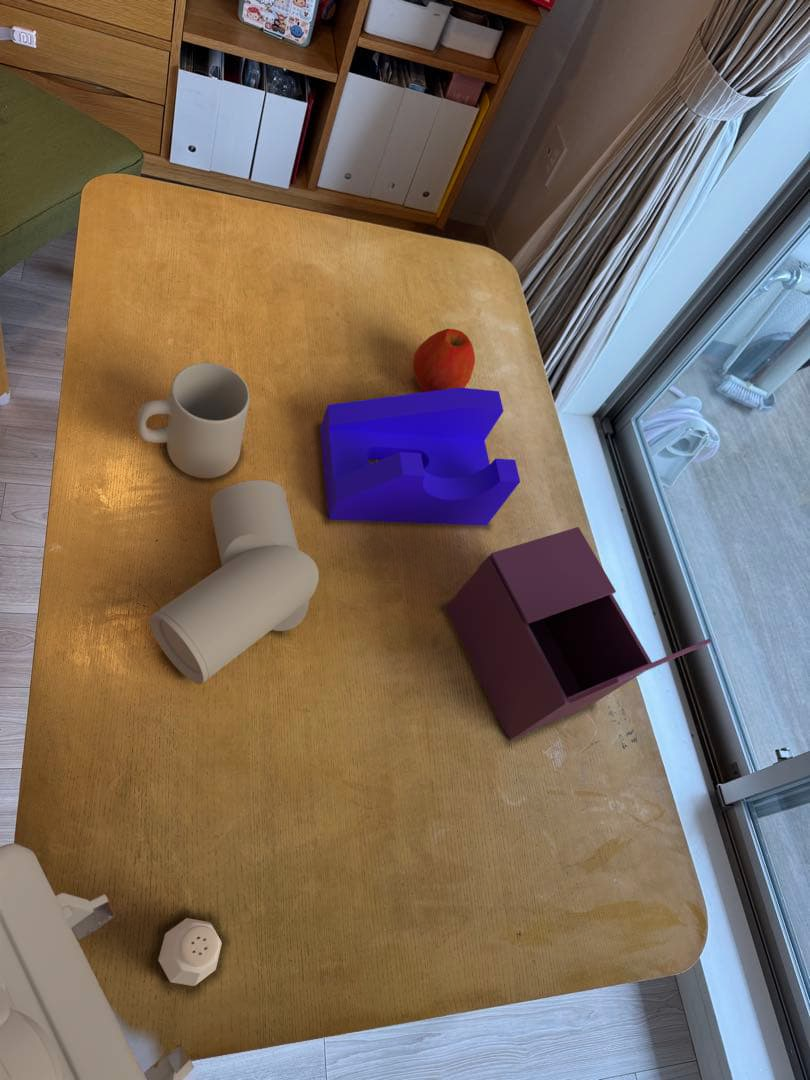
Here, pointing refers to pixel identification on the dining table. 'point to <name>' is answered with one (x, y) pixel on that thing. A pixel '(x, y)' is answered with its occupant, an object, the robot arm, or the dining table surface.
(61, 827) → the dining table surface
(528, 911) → the dining table surface
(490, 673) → the carton
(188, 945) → the pepper shaker
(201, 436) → the mug
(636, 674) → the flap
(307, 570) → the elbow connector
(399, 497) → the bracket
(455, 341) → the apple
